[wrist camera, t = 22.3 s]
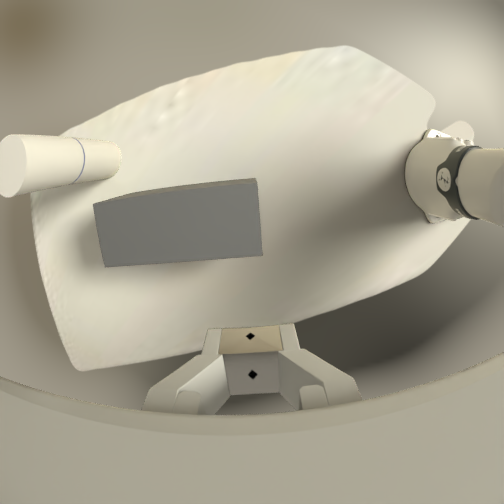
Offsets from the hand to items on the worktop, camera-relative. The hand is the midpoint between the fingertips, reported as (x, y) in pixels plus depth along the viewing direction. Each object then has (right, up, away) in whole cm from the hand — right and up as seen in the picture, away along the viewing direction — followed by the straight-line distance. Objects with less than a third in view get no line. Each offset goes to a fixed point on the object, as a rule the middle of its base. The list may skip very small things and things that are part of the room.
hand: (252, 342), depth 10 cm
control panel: (-10, +11, +38) cm, 40 cm away
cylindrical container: (-27, +20, +35) cm, 48 cm away
